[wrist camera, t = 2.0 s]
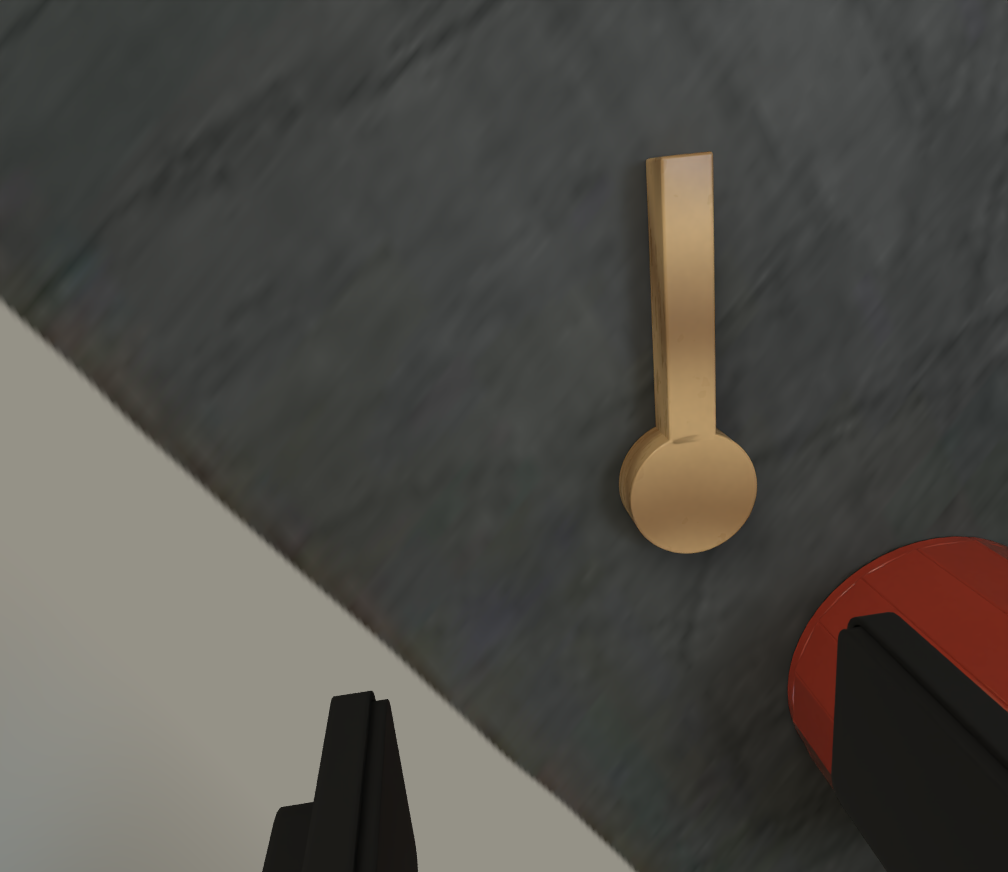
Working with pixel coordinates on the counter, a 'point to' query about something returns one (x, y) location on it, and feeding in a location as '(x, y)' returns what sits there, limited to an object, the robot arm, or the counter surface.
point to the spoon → (684, 377)
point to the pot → (925, 607)
